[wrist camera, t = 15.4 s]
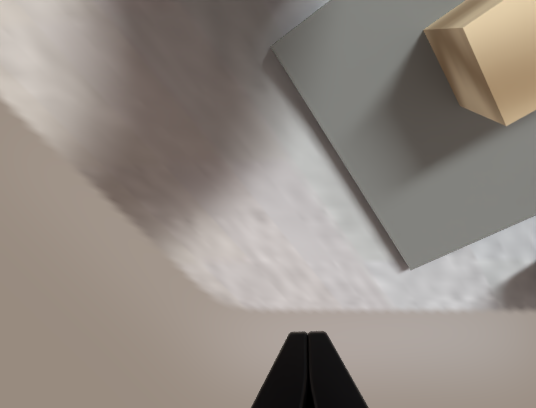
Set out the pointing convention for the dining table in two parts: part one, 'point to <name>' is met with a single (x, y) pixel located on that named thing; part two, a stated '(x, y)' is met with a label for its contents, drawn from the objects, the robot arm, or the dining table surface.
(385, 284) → the dining table surface
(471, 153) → the board
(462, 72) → the wooden building block
